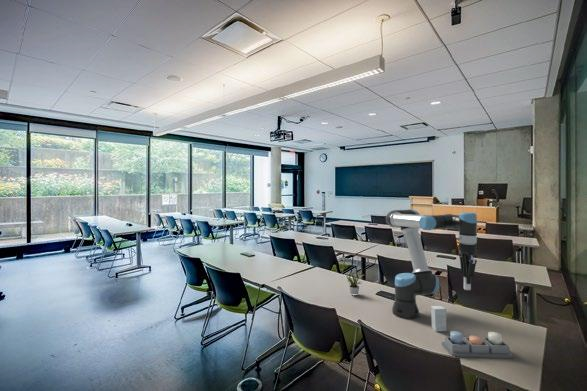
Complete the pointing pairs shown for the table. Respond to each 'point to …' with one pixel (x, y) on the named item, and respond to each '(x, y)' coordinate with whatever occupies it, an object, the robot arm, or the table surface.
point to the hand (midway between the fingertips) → (467, 289)
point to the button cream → (495, 338)
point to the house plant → (354, 287)
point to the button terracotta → (475, 340)
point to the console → (477, 349)
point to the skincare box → (438, 318)
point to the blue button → (456, 337)
